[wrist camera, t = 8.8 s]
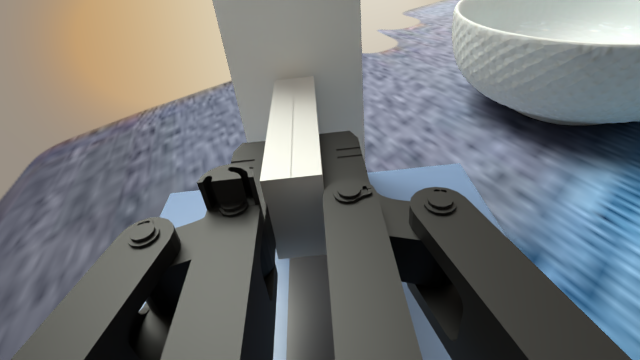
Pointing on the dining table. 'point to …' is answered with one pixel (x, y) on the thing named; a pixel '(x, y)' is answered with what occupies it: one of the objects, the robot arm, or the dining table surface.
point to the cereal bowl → (553, 57)
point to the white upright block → (295, 58)
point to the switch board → (312, 271)
